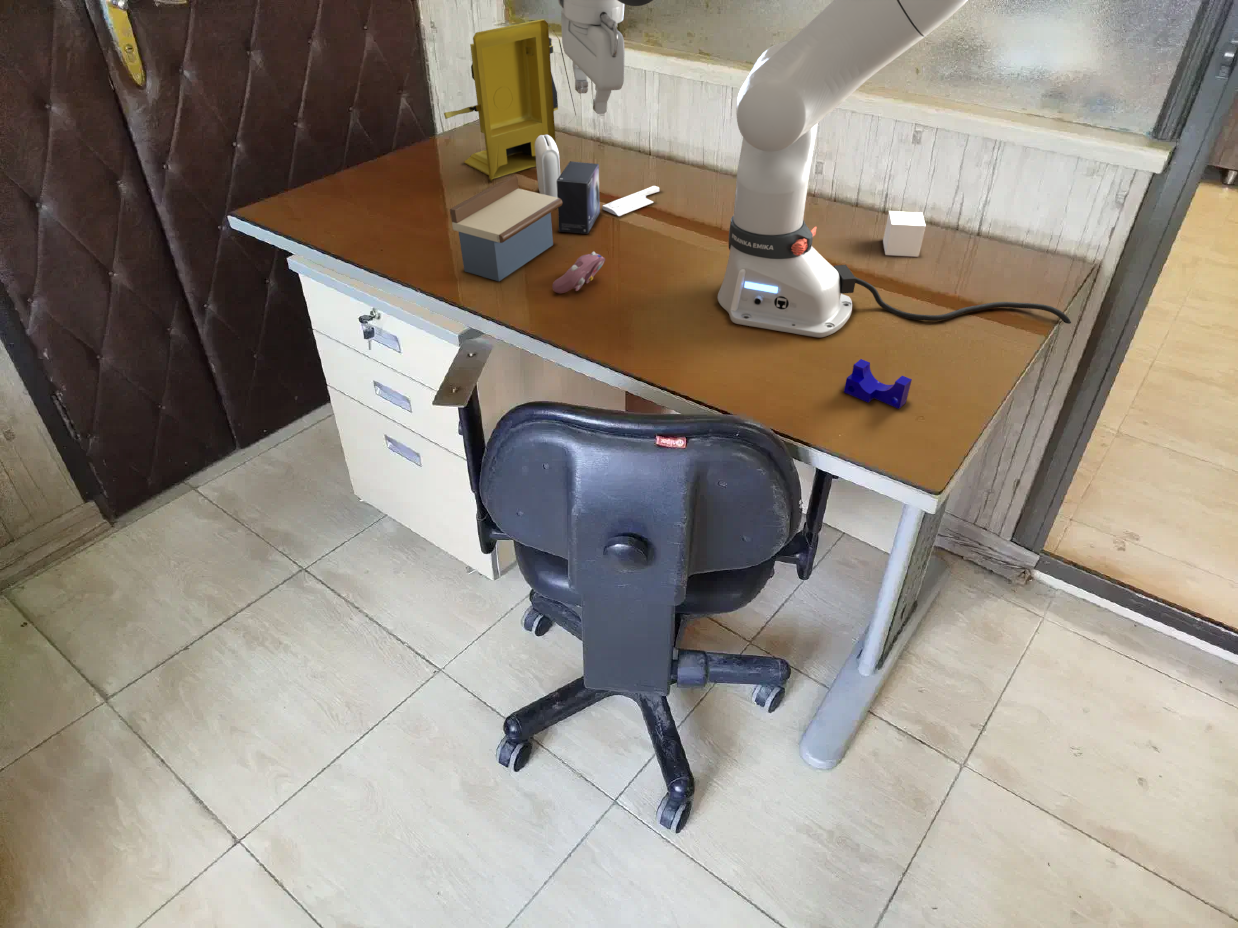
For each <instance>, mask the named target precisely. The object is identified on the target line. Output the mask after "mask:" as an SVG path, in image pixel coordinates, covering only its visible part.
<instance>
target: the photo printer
mask: <svg viewBox="0 0 1238 928" xmlns="http://www.w3.org/2000/svg"><path fill="white" fill-rule="evenodd" d="M535 155H536V166H535V167H536V177H537V178H536V179H537V187H538V188H537V189H538V191H539V192H538V193H540V194H544V195H548V196H552V197H557V179H558V178H559V176H560V175H561V165H560V164H561V163H560V153H559V148H558V146H557V143H555V141H554V140H553V139H552V137H550V136H549V135H540V136H538V138H537V139H536V141H535Z"/></svg>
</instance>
